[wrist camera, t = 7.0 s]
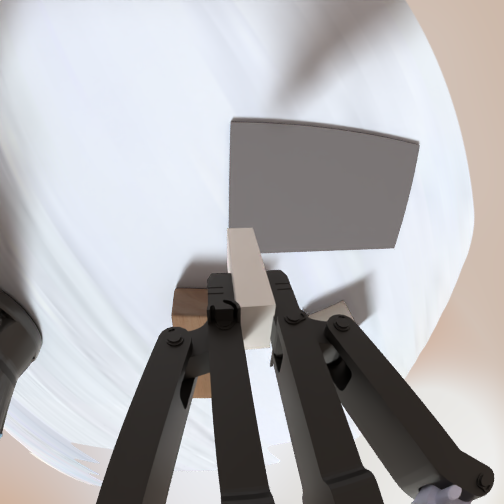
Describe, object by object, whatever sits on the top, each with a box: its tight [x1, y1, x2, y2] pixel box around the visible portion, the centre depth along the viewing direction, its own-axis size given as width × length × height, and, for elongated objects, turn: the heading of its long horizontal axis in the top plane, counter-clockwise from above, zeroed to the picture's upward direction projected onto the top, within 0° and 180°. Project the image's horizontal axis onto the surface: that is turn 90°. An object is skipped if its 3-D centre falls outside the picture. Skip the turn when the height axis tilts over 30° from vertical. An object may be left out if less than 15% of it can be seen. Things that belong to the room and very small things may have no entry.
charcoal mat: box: [229, 122, 420, 253], centre depth 26 cm, size 20×13×1 cm, turn 87°
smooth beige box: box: [308, 301, 356, 323], centre depth 35 cm, size 8×8×5 cm
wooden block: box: [172, 288, 211, 398], centre depth 33 cm, size 9×4×18 cm
